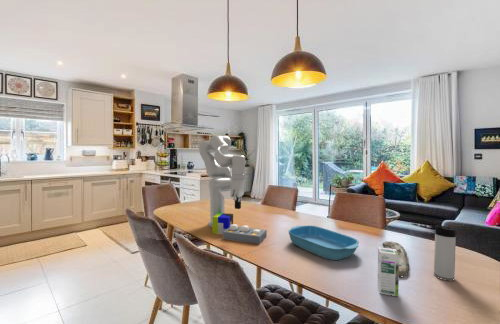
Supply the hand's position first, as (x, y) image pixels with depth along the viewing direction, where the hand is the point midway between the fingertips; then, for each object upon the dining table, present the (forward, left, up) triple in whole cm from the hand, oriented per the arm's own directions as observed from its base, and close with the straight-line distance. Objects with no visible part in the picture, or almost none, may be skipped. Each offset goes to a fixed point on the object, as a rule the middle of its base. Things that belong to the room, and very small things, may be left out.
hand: (237, 208), depth 141 cm
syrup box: (+32, +72, -17) cm, 80 cm away
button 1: (0, -2, -13) cm, 14 cm away
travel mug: (+13, +94, -17) cm, 96 cm away
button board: (0, +5, -16) cm, 17 cm away
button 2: (0, +12, -15) cm, 19 cm away
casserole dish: (0, +47, -17) cm, 50 cm away
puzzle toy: (-6, -12, -17) cm, 22 cm away
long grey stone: (+2, +79, -17) cm, 81 cm away
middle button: (0, +5, -13) cm, 14 cm away
